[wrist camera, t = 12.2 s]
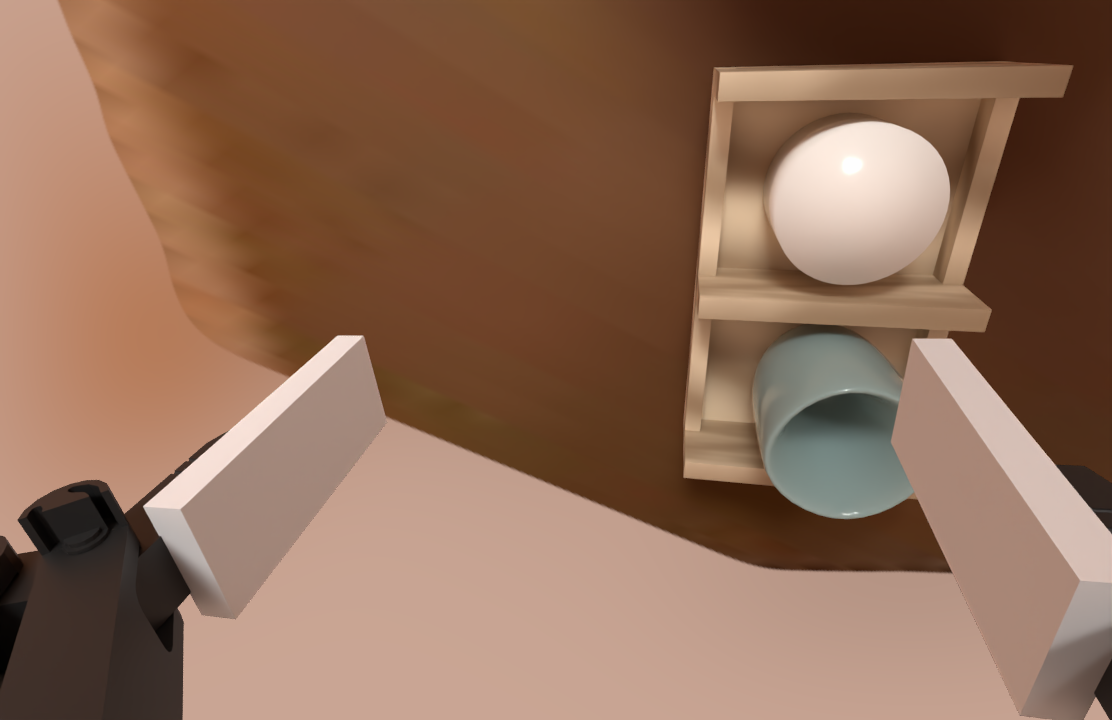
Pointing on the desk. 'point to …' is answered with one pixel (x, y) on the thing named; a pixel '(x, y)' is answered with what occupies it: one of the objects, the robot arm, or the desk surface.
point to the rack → (788, 293)
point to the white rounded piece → (855, 198)
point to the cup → (829, 422)
